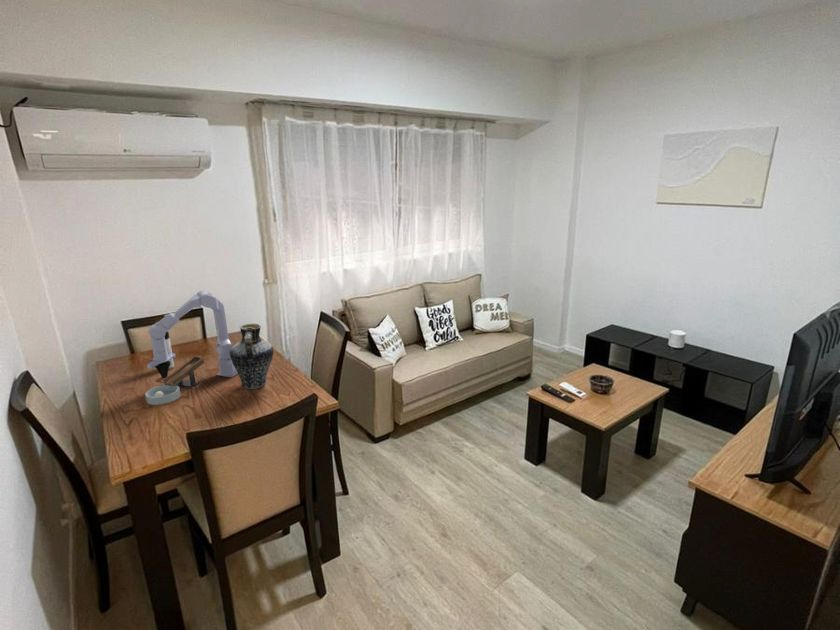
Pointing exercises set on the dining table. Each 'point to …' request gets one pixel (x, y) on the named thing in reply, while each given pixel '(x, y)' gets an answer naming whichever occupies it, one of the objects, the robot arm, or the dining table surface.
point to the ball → (159, 394)
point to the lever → (181, 372)
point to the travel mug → (169, 350)
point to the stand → (188, 383)
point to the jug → (251, 357)
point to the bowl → (168, 391)
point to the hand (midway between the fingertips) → (164, 377)
